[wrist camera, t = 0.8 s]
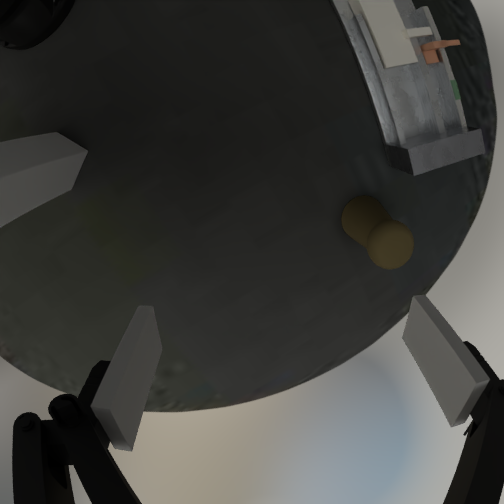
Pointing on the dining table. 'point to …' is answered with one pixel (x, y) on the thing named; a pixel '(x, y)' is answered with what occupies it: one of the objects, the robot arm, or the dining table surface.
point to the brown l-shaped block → (430, 49)
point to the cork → (377, 232)
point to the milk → (36, 172)
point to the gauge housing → (412, 96)
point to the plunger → (388, 31)
